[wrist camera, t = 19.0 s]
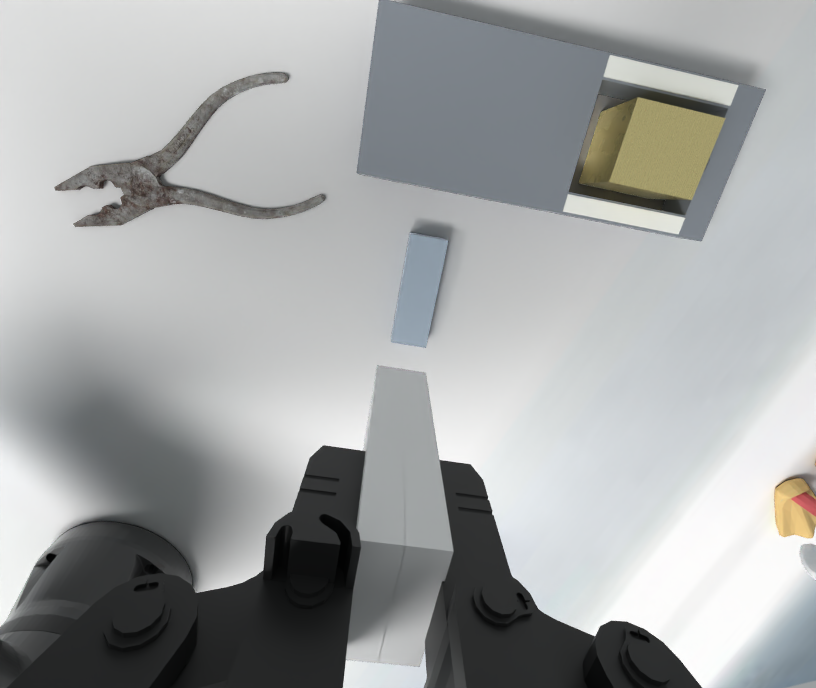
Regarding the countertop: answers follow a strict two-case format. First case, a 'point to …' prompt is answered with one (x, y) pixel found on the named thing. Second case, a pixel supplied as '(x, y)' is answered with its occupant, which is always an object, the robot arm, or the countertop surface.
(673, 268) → the countertop surface
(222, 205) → the pliers
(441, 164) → the rail board
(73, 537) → the robot arm
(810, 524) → the toy
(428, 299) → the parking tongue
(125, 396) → the countertop surface
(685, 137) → the block
